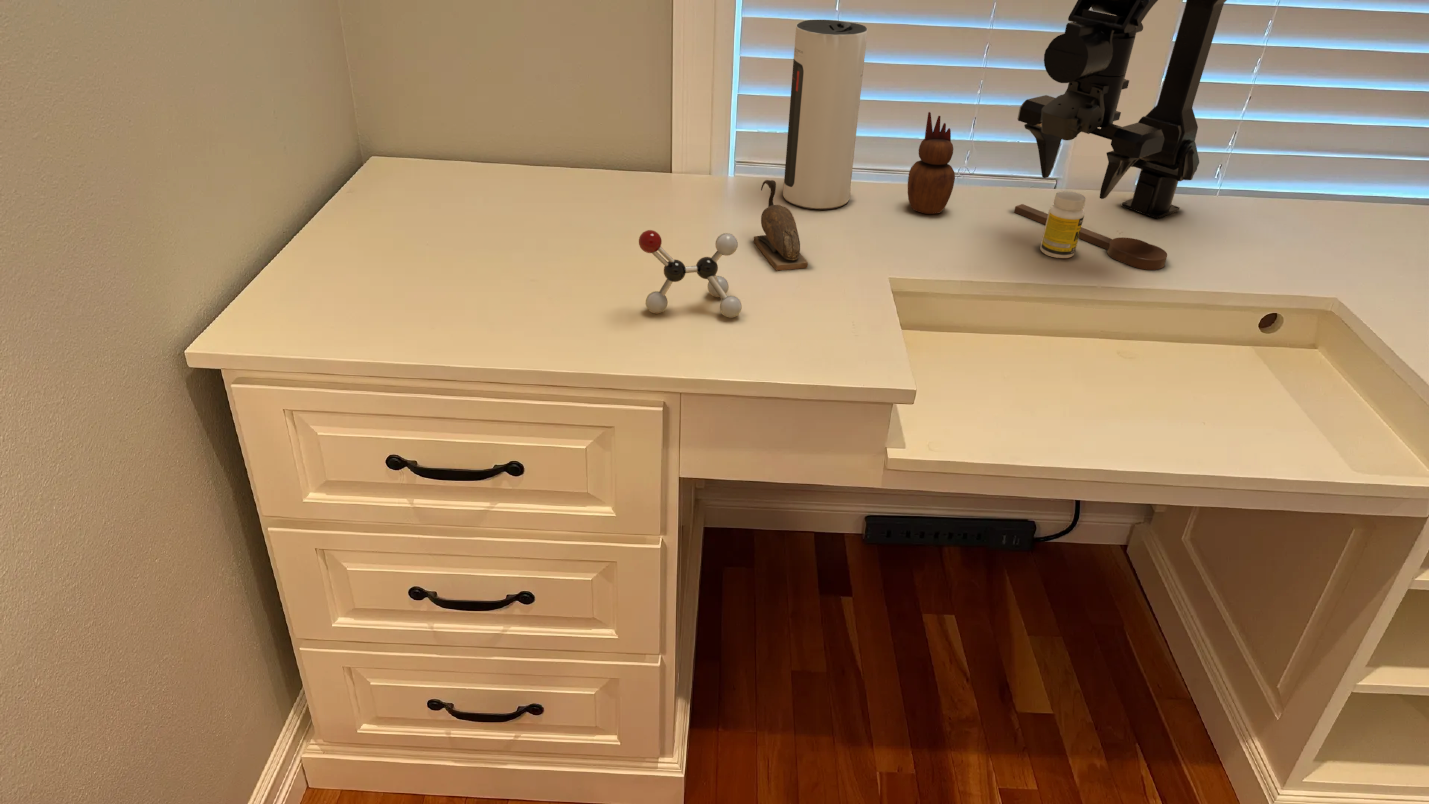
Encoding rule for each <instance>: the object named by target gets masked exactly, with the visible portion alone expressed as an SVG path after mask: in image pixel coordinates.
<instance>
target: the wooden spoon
mask: <svg viewBox="0 0 1429 804" xmlns="http://www.w3.org/2000/svg"><path fill="white" fill-rule="evenodd" d="M1013 212H1014V213H1015V214H1017V215H1020V216H1023V217H1024V218H1027V219H1030V220H1032V221H1035V222H1038V223H1040V224H1042V225H1044V226H1045V225H1046V221H1047V217H1048V212H1044V211H1042V210H1039V209H1036V208H1034V207H1032V206H1029V205H1026V204H1024V203H1021V204H1018V205H1015V206H1014V210H1013ZM1078 239H1080V240H1083V241H1084V242H1088V243H1090V244H1092V245H1095V246H1098V247H1100V248H1102V249H1105V250H1106V252H1107V255H1108V256H1109V257H1110V258H1112V259H1113V260H1116V261H1117V262H1121V263H1124V264H1125V265H1128V266H1129V267H1133V268H1136V269H1141V270H1147V271H1155V270H1160V269H1163V268H1164V267H1165V264H1166V261H1167V258H1168V253H1167V251H1166V250H1165V249H1163V248H1161V247H1159V246H1157V245H1155V244H1151V243H1149V242H1147V241H1143V240H1141V239H1138V238H1134V237H1133V238H1132V237H1123V236H1122V237H1115V238H1111V237H1108V236H1106V235H1103V234H1100V233H1097V232H1095V231H1092V230H1090V229H1088V228H1085V227H1082V226H1081V230H1080V234H1079V238H1078Z"/></svg>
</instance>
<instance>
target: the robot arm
mask: <svg viewBox="0 0 1429 804" xmlns="http://www.w3.org/2000/svg"><path fill="white" fill-rule="evenodd" d="M1158 1H1159V0H1077V1H1076V3H1075V5H1074V6H1073V9H1072V10H1071V12H1070V14H1069V15H1068V17H1067V20H1068V22H1067V23H1066V25H1065V29H1064V33H1062V34H1059V35H1057V36H1056V37H1054V38H1053V39H1052V40H1051V41H1050V42H1049V44H1048V46H1047V47H1046V49H1045V50H1044V54H1043V65H1044V68H1045V72H1046V74H1048V76H1049V77H1050V78H1051V79H1052V80H1053V81H1055V82H1056V83H1060V84H1068V85H1067V89H1066V90H1065V91H1064V93H1063V94H1060V95H1057V96H1056V97H1054V96H1051V95H1047V94H1045V95H1041V96H1036V97H1032V98H1027V99H1026V100H1025V101H1023V102H1022V104H1021V105H1020V106H1019V109H1018V114H1017V121H1018V122H1021V123H1024V125H1023V127H1024V129H1025V130H1028V131H1029V132H1030V133H1031V134H1032V135H1033V137H1034V139H1035V141H1036V144H1037V149H1038V157H1039V164H1040V172H1041V177H1042V178H1043V179H1047V178H1049V177H1050V175H1051V172H1052V170H1053V169H1054V165H1055V163H1056V160H1057V156H1058V153H1059V150H1060V146H1061V143H1062V141H1072V140H1074V139H1076V138H1077V137H1078V135H1079V134H1081V133H1084V134H1087V135H1090V134H1091V135H1094V136H1097V137H1101V138H1104V139H1107V140H1110V146H1111V148H1112V150H1110V151H1107V152H1106V157H1107V162H1108V163H1107V167H1106V170H1105V173H1104V177H1103V180H1102V183H1101V187H1100V192H1099V199H1101V200H1104V199H1106V198H1108V196H1109V195H1110V193H1111V192H1112V191H1113V189H1115V187H1116V186H1117V184H1119V182H1120V180H1122V178H1123V177H1124V175H1125V174H1126V173H1127V172H1128V170H1130V169H1131V168H1136V169H1140V172H1139V176H1138V179H1137V182H1136V186H1135V189H1134V192H1133V196H1132V198H1130V199H1128V200H1125V201H1122V202H1121V207H1124V208H1126V209H1129V210H1131V211H1134V212H1136V213H1139V214H1144V215H1146V216H1148V217H1151V218H1154V219H1161V218H1164V217H1167V216H1169V215H1171V214H1174V213H1176V212H1179V211H1180V207H1179V206H1177V205H1175V204H1173V200H1174V197H1175V194H1176V191H1177V188H1178V184H1179V182H1182V181H1192V180H1193V178H1194V175H1195V173H1196V172H1197V171H1198V167H1199V165H1200V158H1199V153H1198V149H1197V144H1196V137H1197V133H1198V129H1199V126H1198V123H1197V118H1196V116H1195V113H1194V109H1193V106H1194V103H1195V99H1196V96H1197V93H1198V89H1199V86H1200V83H1201V80H1202V76H1203V74H1204V70H1205V66H1206V63H1207V59H1208V56H1209V53H1210V50H1211V46H1212V43H1213V41H1214V37H1215V34H1216V30H1217V28H1218V24H1219V21H1220V17H1221V14H1222V10H1223V8H1224V5H1225V3H1226V2H1227V1H1228V0H1186V1H1185V5H1184V8H1183V13H1182V15H1181V19H1180V23H1179V26H1178V30H1177V34H1176V36H1175V40H1174V44H1173V47H1172V50H1171V55H1170V57H1169V62H1168V66H1167V69H1166V72H1165V75H1164V79H1163V83H1162V86H1161V89H1160V94H1159V97H1158V101H1157V103H1156V105H1155V106H1154V107H1153V108H1152V109H1151V110H1150V111H1148V113H1147V114H1146V115H1144V116H1141V118H1140V119H1139V120H1138V121H1137V122H1135V123H1131V124H1127V125H1124V126H1121V125H1119V124H1115V123H1114V122H1116V121H1120V117H1121V114H1122V112H1121V111H1118V110H1117V109H1118V105H1119V101H1120V98H1121V94H1122V91H1123V90H1126V89H1128V88H1129V84H1130V80H1129V79H1126V74H1127V70H1128V66H1129V63H1130V59H1131V55H1132V51H1133V48H1134V44H1135V40H1136V36H1137V33H1141V32H1142V31H1143V30H1144V24H1143V23H1142V22H1143V21H1144V19H1145V17H1146V16H1147V14H1148V13H1149V12H1150V10H1151V9H1152V8H1153V7H1154V6H1155V5H1156V3H1157V2H1158ZM1090 9H1092V10H1090Z"/></svg>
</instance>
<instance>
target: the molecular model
mask: <svg viewBox="0 0 1429 804" xmlns="http://www.w3.org/2000/svg"><path fill="white" fill-rule="evenodd" d="M662 243H663V240H662V237H661V235H660V234H659V233H658V232H657V231H656V230H653V229H647V230H645V231H643V232H642V233H641V234H640V236H639V239H638V247H639V248H640V249H641V250H642V251H643V252H644V253H646V254H652V255H653V256H654V257H655V258H656V259H657V260H658V261H660V263H661V264H662V265H663V266H664V267H663V275H664V277H665V278H666V279H665V281H664V283H663V285H662V286H661V288H660V290H659V291H656V290H655V291H652V292H650V293H649V294H648V295H647V296H646V299H645V307H646V308H647V310H648V311H649V312H651V313H652V314H660V313H663V312H664V311H665V310H666V309H667V307H668V303H669V301H668V298H667V296H666V295H667V292H668V291H669V290H670V288H671V286H672V284H673V283H679V282H680V281H682V280H684V278H685V276H686V274H693V273H696V274H697V276H698V277H699V278H701V279H704V280H707V281H708V282H707V291H708V293H709V294H710V295H711V296H712V297H714V298H720V299H721V301H720V302H719V310H720V312H721V314H722V315H723V316H724V317H726V318H729V319H732V318H733V319H734V318H736V317H738V316H739V315H740V314H741V312H742V310H743V305H742V301H741V299H739V298H738V297H737V296H735V295H727V293H728V291H729V289H730V285H729V282H728V280H727V279H726V278H725V277H724V276H722V275H717V274H718V270H719V265H718V263H717V262H718V261H719V260H720V258H721V257H723V256H725V257H726V256H727V257H729V256H731V255H734V254H735V253H736V251H737V250H738V247H739V242H738V239H737V237H736V236H735V235H734V234H732V233H731V232H730V233H729V232H723V233H721V234H720V235H719V236H717V238H716V240H715V243H714V244H715V249H716V251H715V252H714V254H713V255H712V256H711V257H710V256H703V257H701V258H699V260H698V261H697V262H696V264H695V265H687V266H685V264H684V263H683V261H681V260H679V259H674V258H673V257H672V256H671V255H670V254H669V253H668V252H667V251H666V250H665V249H664V248H663V247H662Z"/></svg>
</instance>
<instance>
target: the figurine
mask: <svg viewBox="0 0 1429 804" xmlns="http://www.w3.org/2000/svg"><path fill="white" fill-rule="evenodd" d="M765 185H767V186H768V189H770V190H769V191H770V192H769V193H770V194H769V196H768V197H769V198H768V203H767V204H768V206H767V207H766V208H765V209H764V210H763V211H762V213H761V216H760V224H761V229H762V231H763V232H764V234H763V235H754V236H753V243H754V244H755V246H756V247H757V248H758V249H759V251H760V252H761V253H762V254H763V256H764V257H765V258H766V260H767V261H768V262H769V264H770V265H771V266H772V267H773V268H774V270H775V271H785V270H786V271H787V270H795V269H796V270H797V269H804V268H805V269H806V268H808V266H809V262H808V261H807V259H806V258H805V257H804V256H803V255H802V254H801V253H800V251H801V241H800V236H799V232H798V227H797V222H796V220H795V217H794V215H793V213H792V211H791V210H790V209H789V208H788V207H786V206H784V205H780V204H774V198H775V195H776V190H777V182H776V181H775V180H773V179H771V180H770V179H766V180H764V181H763V182H762V184H761V188H760V191H763V189H764V186H765Z"/></svg>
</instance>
